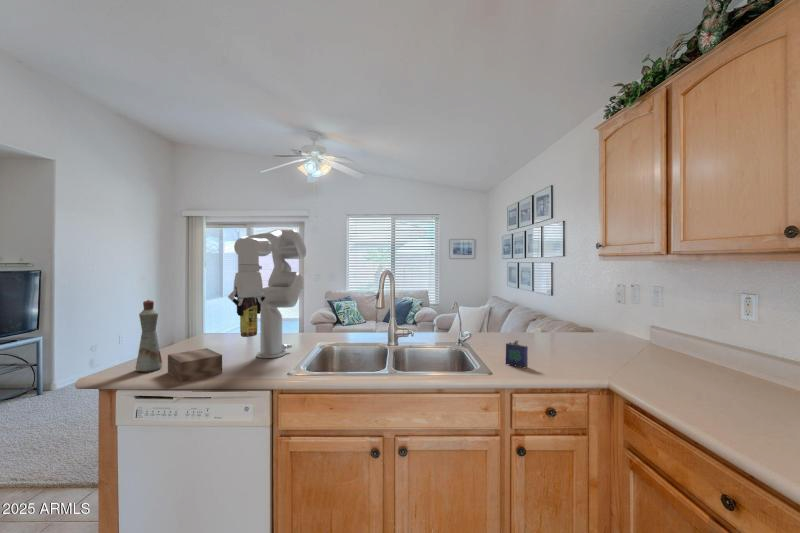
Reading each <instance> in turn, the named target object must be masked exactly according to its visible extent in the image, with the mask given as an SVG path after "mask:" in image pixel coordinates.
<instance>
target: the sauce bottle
mask: <svg viewBox="0 0 800 533" xmlns="http://www.w3.org/2000/svg"><path fill="white" fill-rule="evenodd" d="M242 306H243V316H239V317H240V318H239V320H240V321H239V322H240V323H239V329H240V330H239V331H240V336H241V337H243V338H249V337H251V338H252V337H256V336H257V334H258V314H257V304H256V301H255V298H253V297H251V298H244V299H243V302H242Z"/></svg>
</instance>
